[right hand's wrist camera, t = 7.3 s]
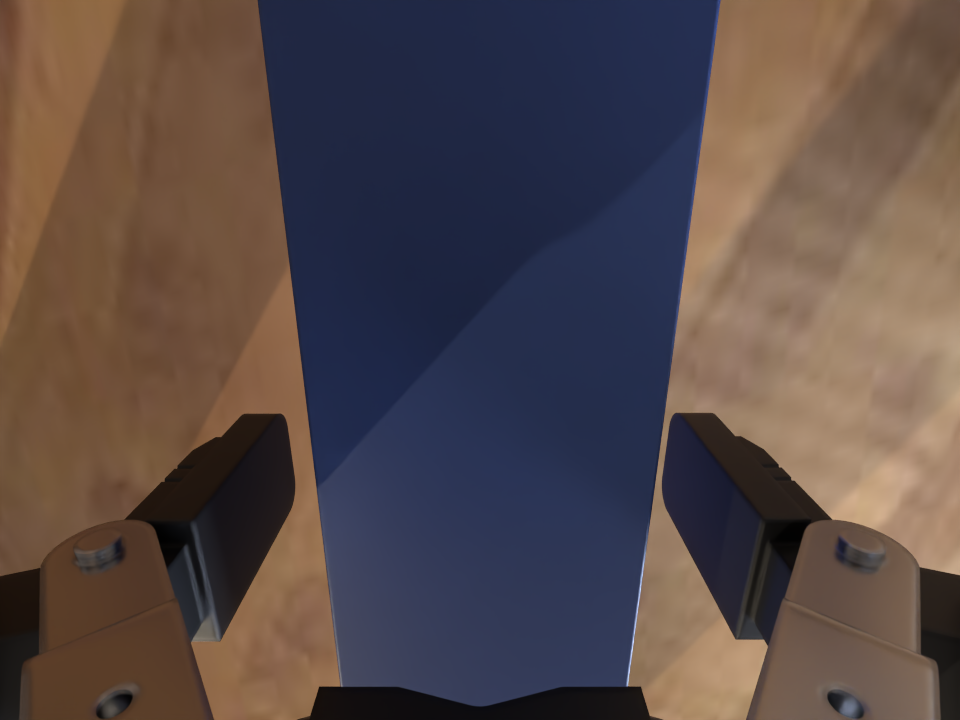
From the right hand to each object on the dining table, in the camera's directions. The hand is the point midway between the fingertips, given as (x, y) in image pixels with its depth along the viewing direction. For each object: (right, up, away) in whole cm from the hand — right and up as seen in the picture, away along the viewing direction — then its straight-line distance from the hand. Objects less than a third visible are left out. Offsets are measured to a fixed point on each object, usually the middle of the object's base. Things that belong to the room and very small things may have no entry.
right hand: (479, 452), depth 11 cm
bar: (0, +10, +1) cm, 10 cm away
